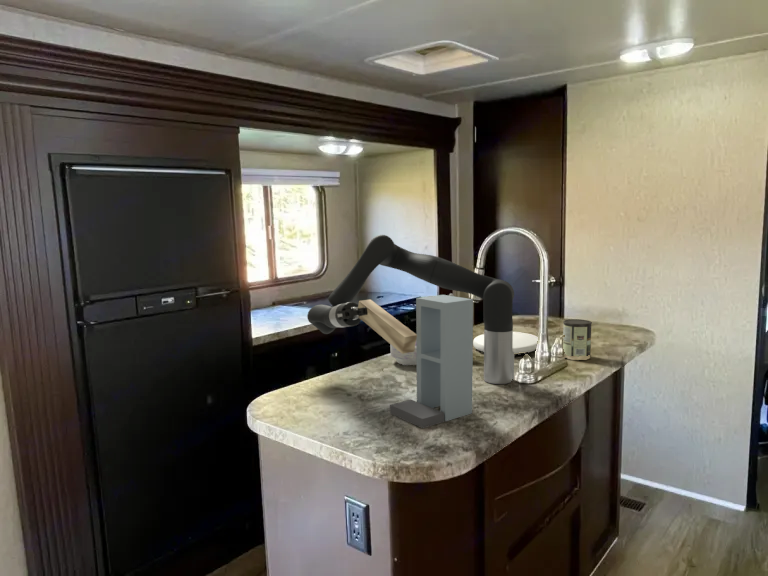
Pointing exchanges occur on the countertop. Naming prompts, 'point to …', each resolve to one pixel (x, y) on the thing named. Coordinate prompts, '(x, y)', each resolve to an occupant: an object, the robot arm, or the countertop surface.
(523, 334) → the plate
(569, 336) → the coffee can
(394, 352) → the white bowl
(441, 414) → the charcoal block
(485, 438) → the countertop surface
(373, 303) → the maple bar
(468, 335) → the slate stand
